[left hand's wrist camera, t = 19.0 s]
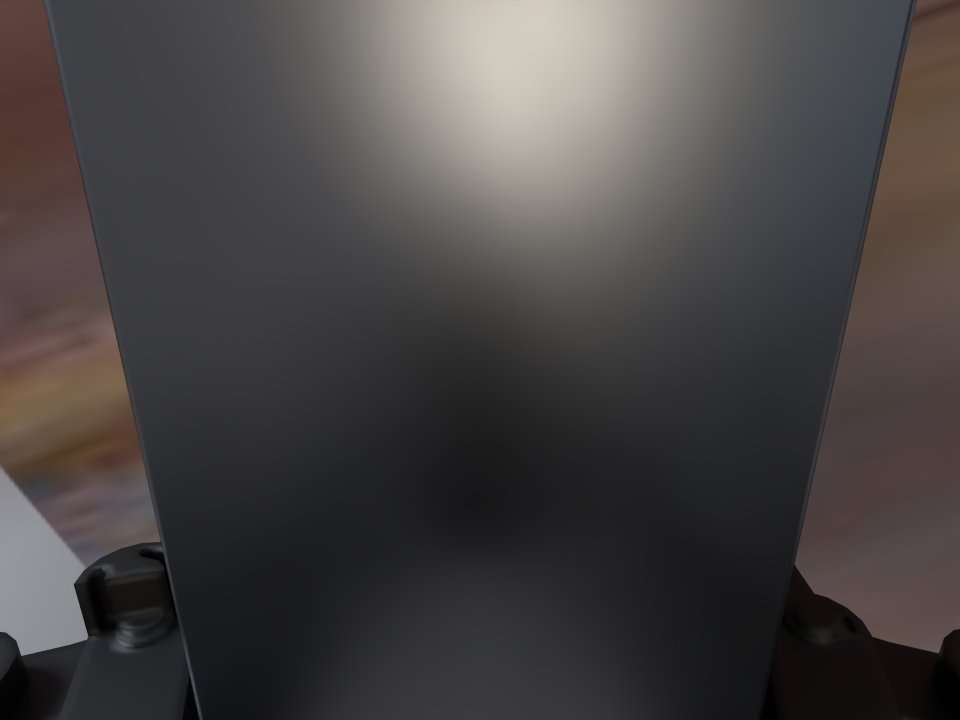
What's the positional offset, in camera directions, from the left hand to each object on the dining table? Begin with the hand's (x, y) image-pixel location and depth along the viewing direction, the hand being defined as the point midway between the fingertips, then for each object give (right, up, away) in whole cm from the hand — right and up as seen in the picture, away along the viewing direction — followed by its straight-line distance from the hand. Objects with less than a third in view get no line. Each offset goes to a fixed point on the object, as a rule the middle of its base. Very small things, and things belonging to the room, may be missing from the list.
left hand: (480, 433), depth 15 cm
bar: (0, +8, -2) cm, 8 cm away
